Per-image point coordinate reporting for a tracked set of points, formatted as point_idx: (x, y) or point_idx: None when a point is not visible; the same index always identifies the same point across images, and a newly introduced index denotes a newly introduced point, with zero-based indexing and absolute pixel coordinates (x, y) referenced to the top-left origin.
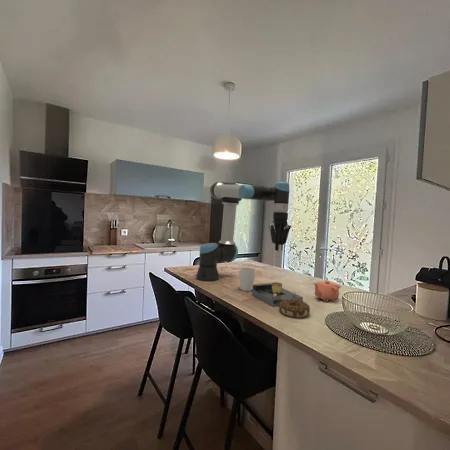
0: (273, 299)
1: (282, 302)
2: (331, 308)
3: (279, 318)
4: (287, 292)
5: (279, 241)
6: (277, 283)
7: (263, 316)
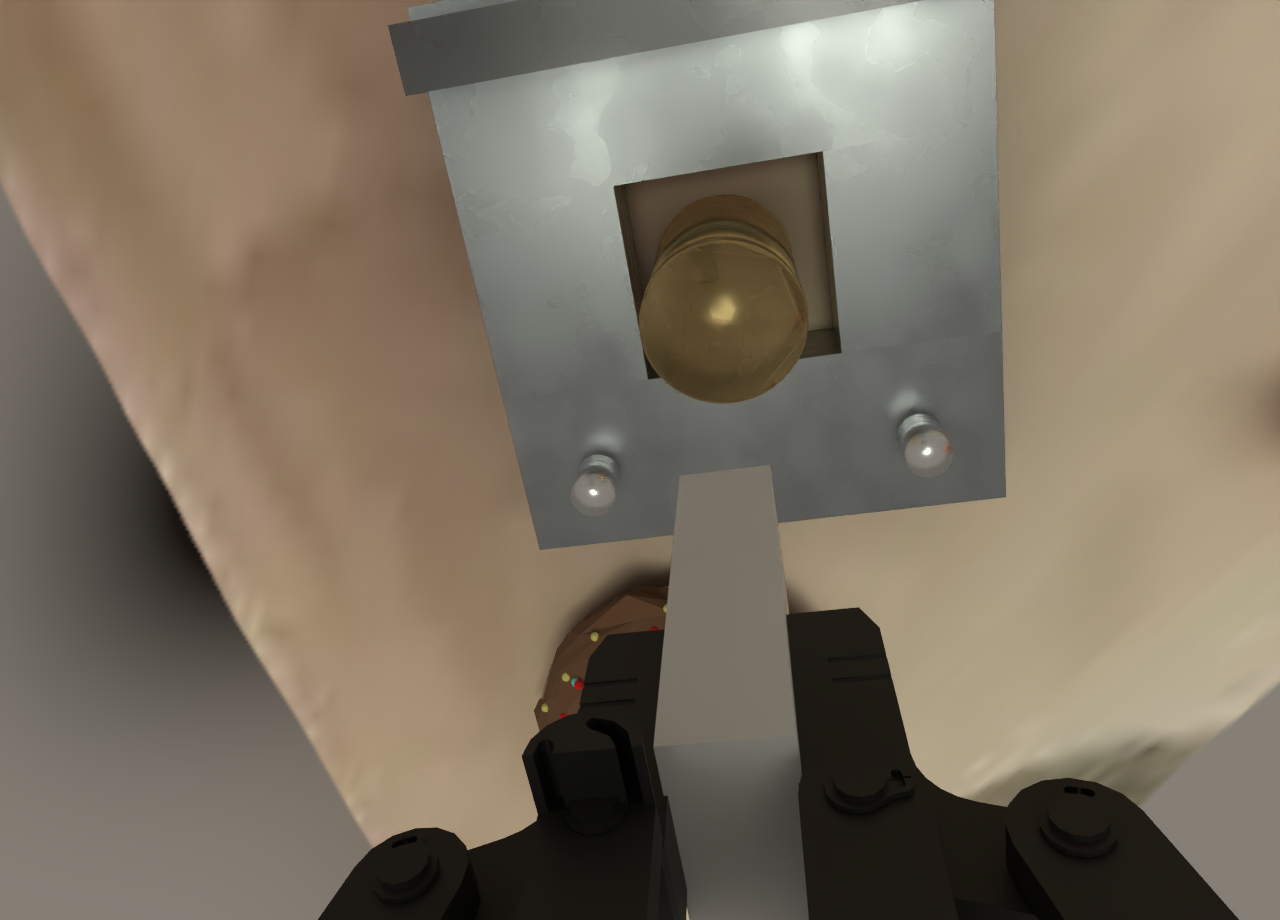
0: (558, 519)
1: (573, 711)
2: (1201, 660)
3: (493, 766)
4: (924, 266)
5: (819, 895)
6: (748, 298)
7: (365, 709)
